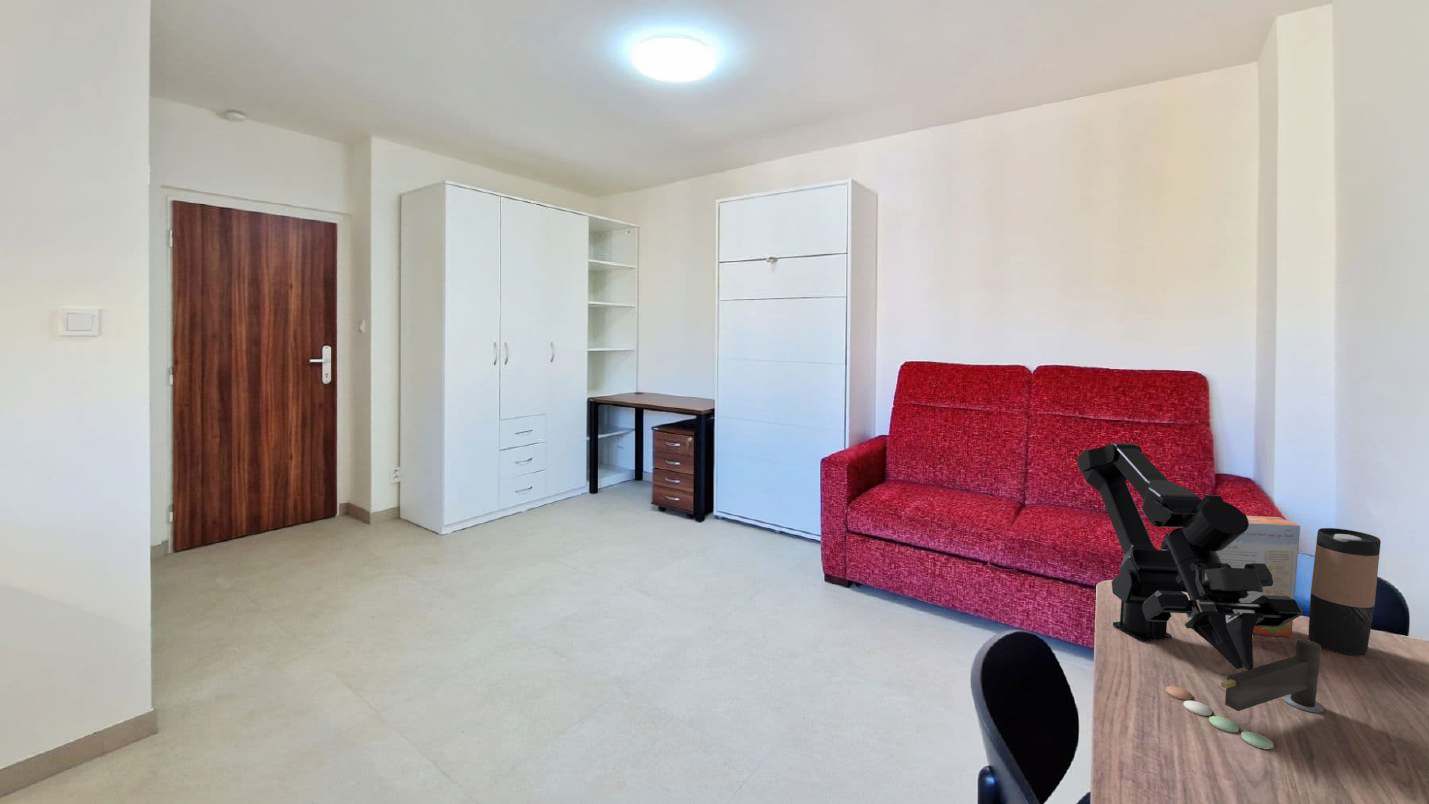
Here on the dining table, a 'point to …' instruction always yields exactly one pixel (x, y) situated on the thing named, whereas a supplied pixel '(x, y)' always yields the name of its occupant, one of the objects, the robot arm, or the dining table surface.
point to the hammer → (1277, 679)
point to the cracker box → (1268, 560)
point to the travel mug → (1343, 590)
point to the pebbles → (1227, 724)
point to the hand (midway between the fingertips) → (1244, 668)
